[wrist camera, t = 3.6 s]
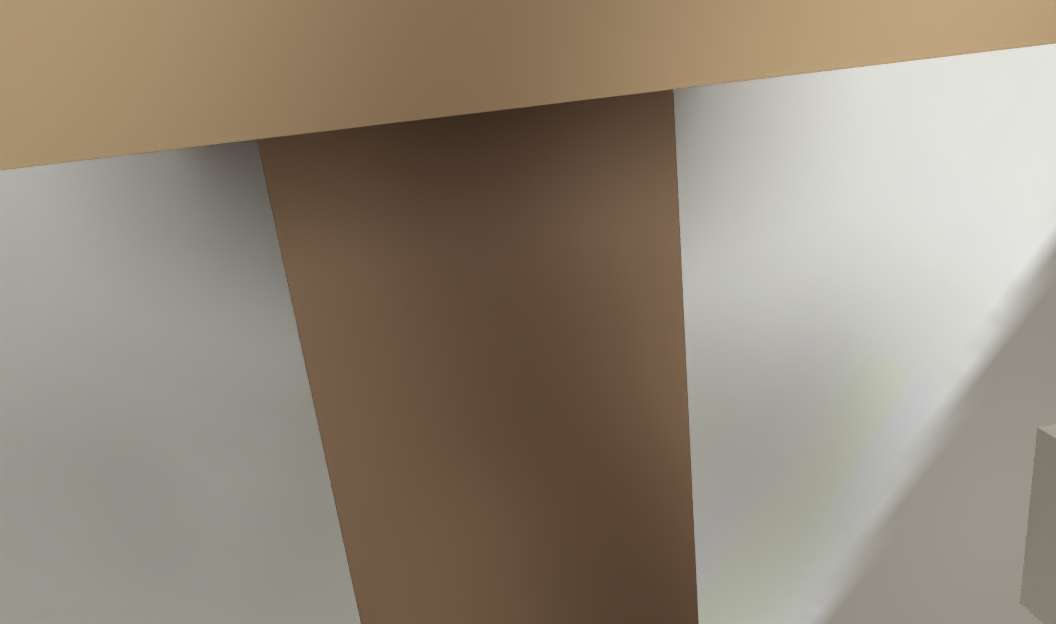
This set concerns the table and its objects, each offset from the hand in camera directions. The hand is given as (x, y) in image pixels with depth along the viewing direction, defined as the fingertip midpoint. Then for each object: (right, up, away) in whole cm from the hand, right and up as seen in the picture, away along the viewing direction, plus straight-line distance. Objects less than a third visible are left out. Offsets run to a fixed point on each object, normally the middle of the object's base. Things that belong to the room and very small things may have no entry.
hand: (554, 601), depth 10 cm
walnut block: (-2, +8, +7) cm, 11 cm away
